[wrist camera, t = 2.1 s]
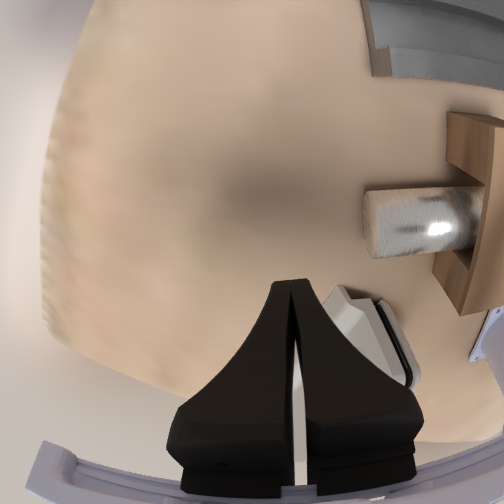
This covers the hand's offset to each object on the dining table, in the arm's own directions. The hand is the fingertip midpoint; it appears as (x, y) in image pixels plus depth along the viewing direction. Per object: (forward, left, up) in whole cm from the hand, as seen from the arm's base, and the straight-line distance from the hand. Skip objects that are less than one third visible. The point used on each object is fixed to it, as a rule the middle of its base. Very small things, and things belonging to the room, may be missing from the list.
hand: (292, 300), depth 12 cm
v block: (-12, -11, -8) cm, 18 cm away
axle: (-10, 0, -8) cm, 13 cm away
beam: (-13, 0, -8) cm, 15 cm away
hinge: (-2, +15, -9) cm, 17 cm away
